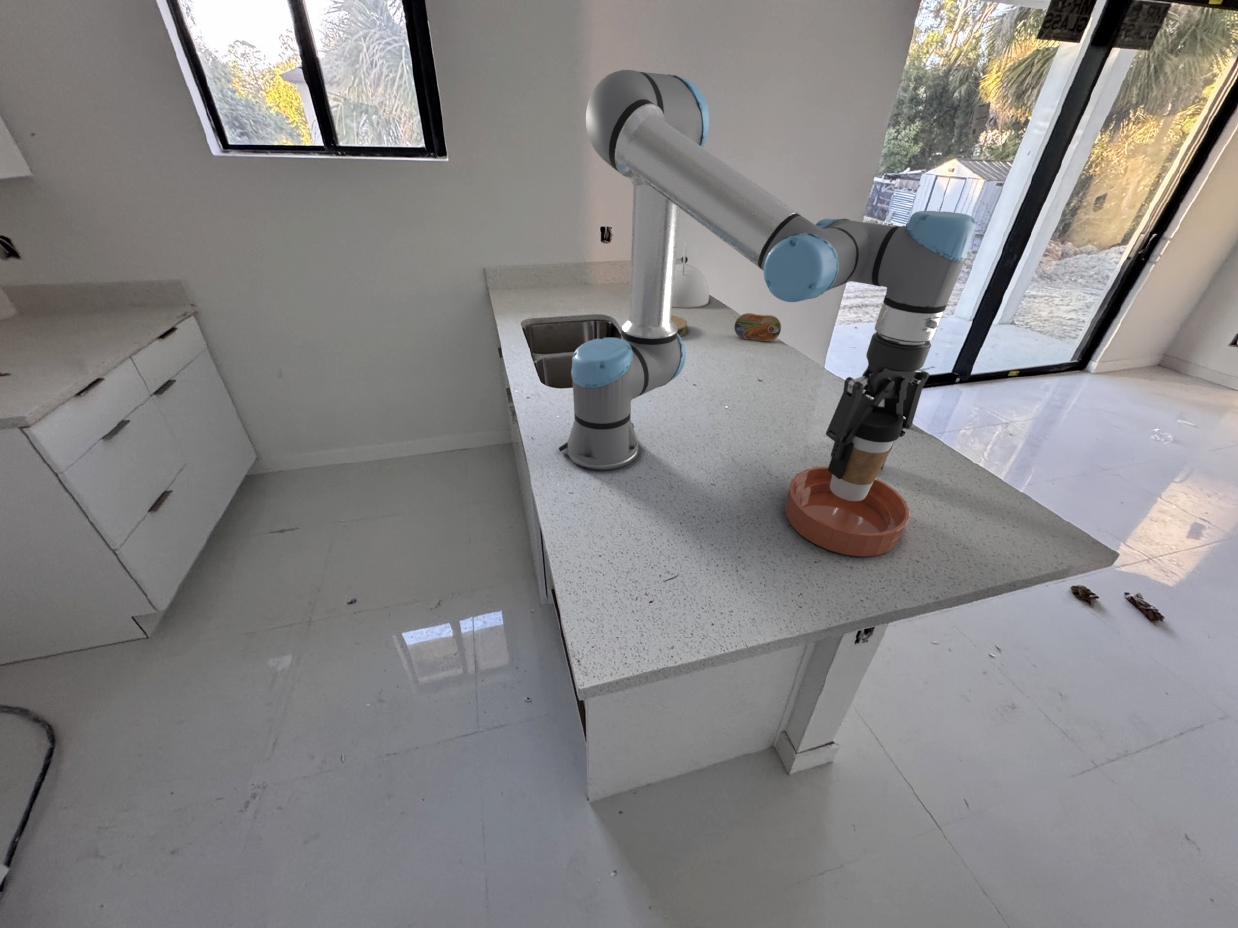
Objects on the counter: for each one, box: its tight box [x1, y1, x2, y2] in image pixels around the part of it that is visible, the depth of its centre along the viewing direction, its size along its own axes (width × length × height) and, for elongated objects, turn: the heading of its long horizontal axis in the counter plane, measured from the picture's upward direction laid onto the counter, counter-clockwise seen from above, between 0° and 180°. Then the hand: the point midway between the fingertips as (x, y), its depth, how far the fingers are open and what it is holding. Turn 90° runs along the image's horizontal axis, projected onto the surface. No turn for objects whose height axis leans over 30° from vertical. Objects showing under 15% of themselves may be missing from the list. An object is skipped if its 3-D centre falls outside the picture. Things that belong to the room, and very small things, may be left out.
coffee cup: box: [830, 406, 904, 501], centre depth 79 cm, size 8×8×15 cm
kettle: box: [672, 240, 710, 309], centre depth 199 cm, size 25×23×23 cm
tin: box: [734, 312, 782, 343], centre depth 162 cm, size 15×3×8 cm, turn 68°
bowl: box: [784, 466, 910, 557], centre depth 85 cm, size 19×19×5 cm
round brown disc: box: [671, 315, 688, 337], centre depth 171 cm, size 16×16×3 cm
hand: (855, 469), depth 81 cm, fingers closed on coffee cup, 7 cm apart
